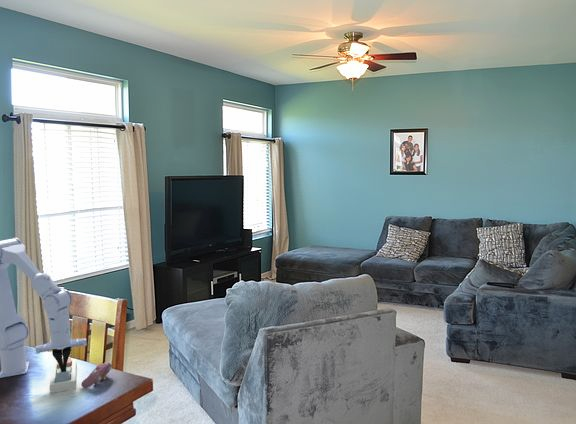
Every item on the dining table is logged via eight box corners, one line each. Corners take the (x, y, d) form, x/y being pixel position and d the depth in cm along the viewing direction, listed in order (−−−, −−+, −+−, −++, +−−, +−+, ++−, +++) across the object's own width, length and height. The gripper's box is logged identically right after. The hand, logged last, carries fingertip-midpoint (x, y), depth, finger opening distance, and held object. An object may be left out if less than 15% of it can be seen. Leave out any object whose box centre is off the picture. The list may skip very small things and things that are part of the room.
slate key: (56, 379, 153) (55, 373, 152) (70, 376, 154) (69, 370, 154) (55, 384, 149) (55, 378, 149) (70, 382, 150) (69, 375, 150)
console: (53, 369, 164) (53, 362, 163) (76, 365, 166) (76, 358, 166) (50, 393, 147) (49, 385, 147) (75, 388, 150) (75, 380, 149)
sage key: (57, 375, 158) (57, 369, 157) (71, 372, 159) (70, 366, 159) (56, 380, 154) (56, 374, 154) (70, 377, 156) (70, 371, 155)
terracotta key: (58, 365, 163) (57, 359, 162) (71, 363, 164) (70, 357, 164) (57, 370, 159) (56, 364, 159) (71, 368, 160) (70, 362, 160)
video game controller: (91, 394, 149) (99, 375, 148) (79, 387, 150) (86, 368, 148) (109, 379, 159) (117, 361, 157) (97, 372, 159) (105, 354, 158)
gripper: (33, 337, 148) (37, 380, 150) (85, 329, 154) (88, 371, 155) (35, 330, 155) (39, 371, 156) (85, 322, 160) (88, 362, 162)
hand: (63, 370), depth 156 cm, fingers closed, pressing on sage key
